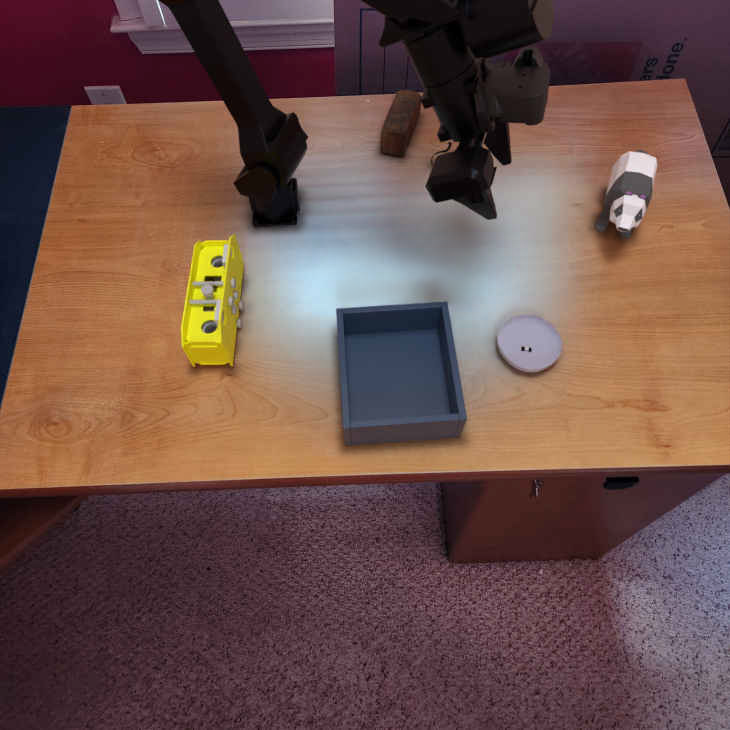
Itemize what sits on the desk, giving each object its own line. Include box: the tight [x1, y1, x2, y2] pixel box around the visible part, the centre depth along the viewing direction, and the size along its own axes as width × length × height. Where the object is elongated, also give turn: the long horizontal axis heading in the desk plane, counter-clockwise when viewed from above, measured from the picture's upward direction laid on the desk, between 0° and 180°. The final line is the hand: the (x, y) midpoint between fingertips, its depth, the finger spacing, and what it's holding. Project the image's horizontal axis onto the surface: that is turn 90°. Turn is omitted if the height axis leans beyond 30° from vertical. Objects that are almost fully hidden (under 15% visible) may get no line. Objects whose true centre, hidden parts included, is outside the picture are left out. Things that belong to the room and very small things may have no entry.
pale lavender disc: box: [496, 313, 563, 373], centre depth 73 cm, size 8×8×2 cm
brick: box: [380, 89, 422, 157], centre depth 90 cm, size 11×4×5 cm, turn 163°
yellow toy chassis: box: [180, 233, 245, 368], centre depth 73 cm, size 16×6×8 cm, turn 1°
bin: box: [335, 301, 468, 447], centre depth 69 cm, size 14×16×6 cm
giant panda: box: [594, 149, 658, 240], centre depth 79 cm, size 15×6×10 cm, turn 159°
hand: (500, 190), depth 67 cm, fingers open, 9 cm apart
